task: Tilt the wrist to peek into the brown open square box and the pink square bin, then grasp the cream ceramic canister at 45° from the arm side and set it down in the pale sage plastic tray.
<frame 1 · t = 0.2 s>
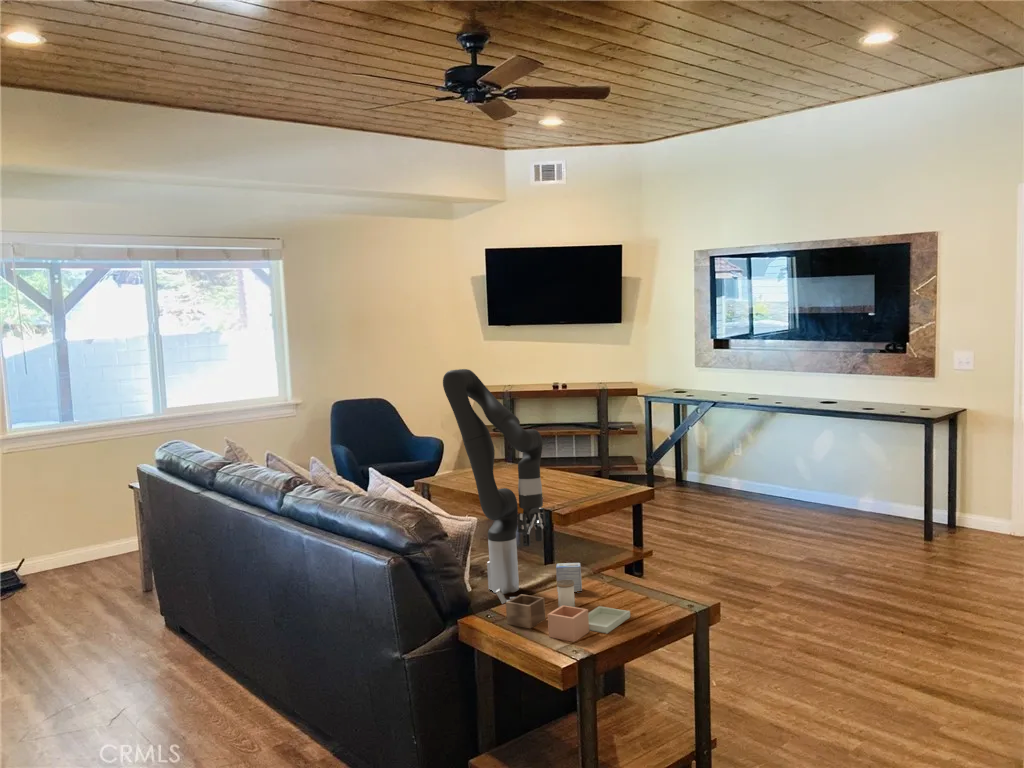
hand: (533, 543, 242), 17 cm above the table, tool pointing down, fingers open, 8 cm apart
brown open square box: (526, 624, 219), on the table
cream canister: (567, 615, 224), on the table
medicine box: (569, 591, 247), on the table
sage tray: (603, 624, 215), on the table
lighter: (509, 615, 228), on the table
pink square bin: (569, 637, 208), on the table
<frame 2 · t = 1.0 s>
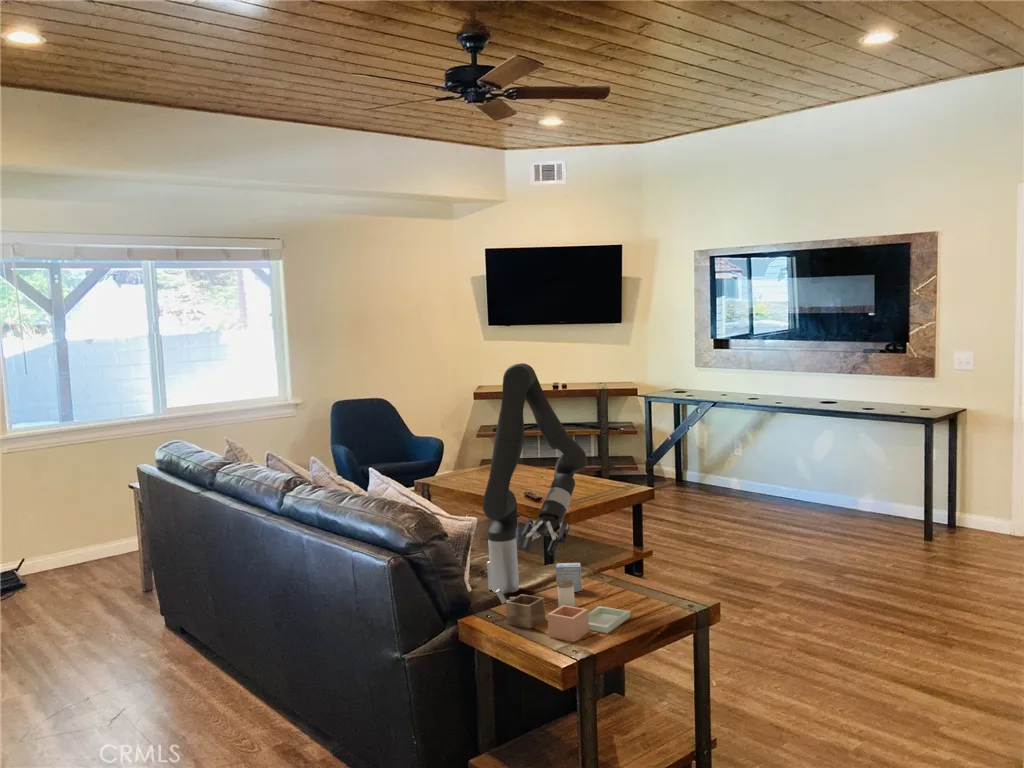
hand: (537, 552, 225), 19 cm above the table, tool tilted 45°, fingers open, 8 cm apart
nothing on the table moved.
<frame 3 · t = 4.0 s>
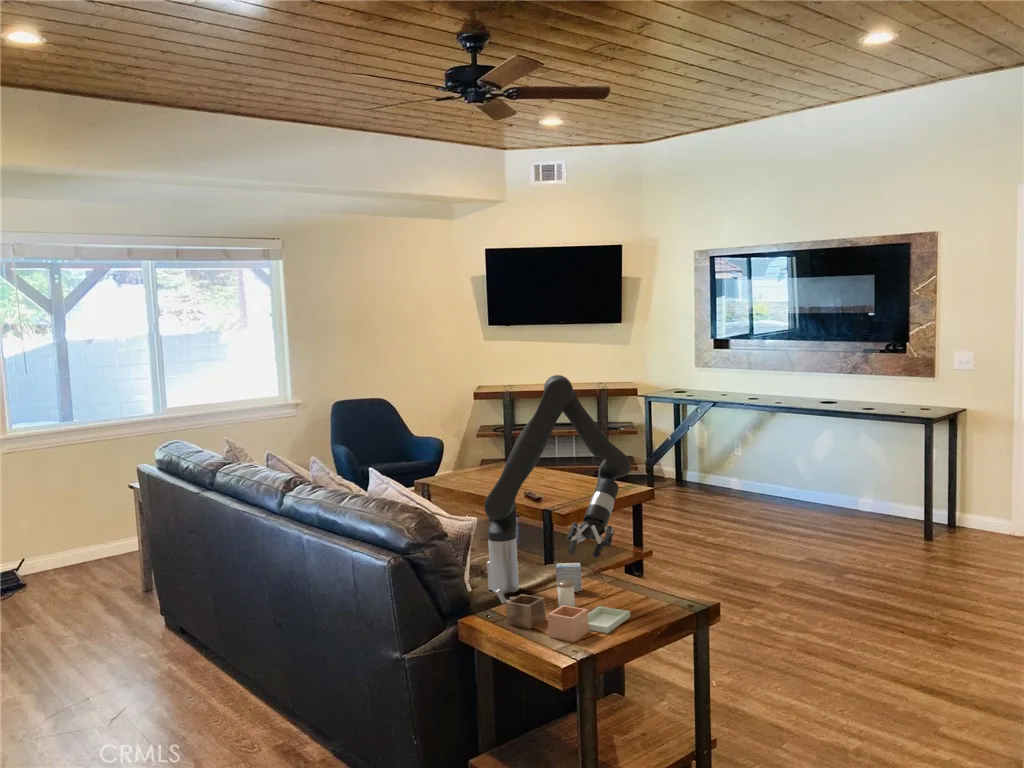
hand: (582, 555, 231), 16 cm above the table, tool tilted 45°, fingers open, 8 cm apart
nothing on the table moved.
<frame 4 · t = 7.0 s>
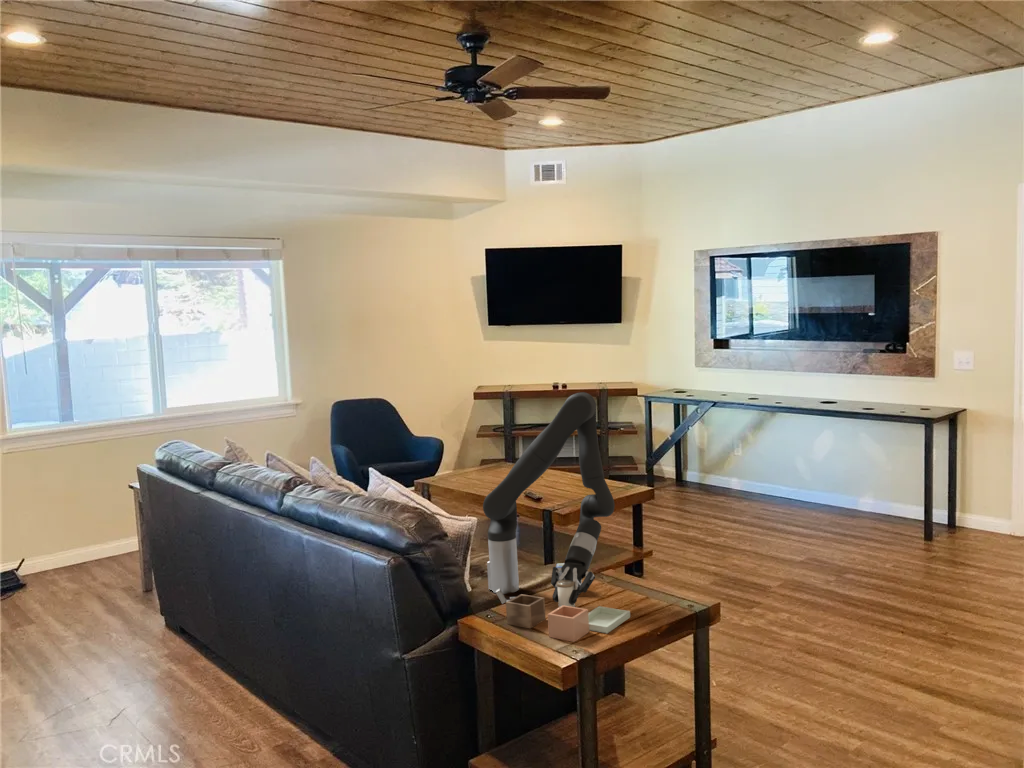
hand: (563, 602, 222), 5 cm above the table, tool tilted 45°, fingers closed on cream canister, 4 cm apart
cream canister: (567, 615, 224), on the table, touching gripper
everything else where it was.
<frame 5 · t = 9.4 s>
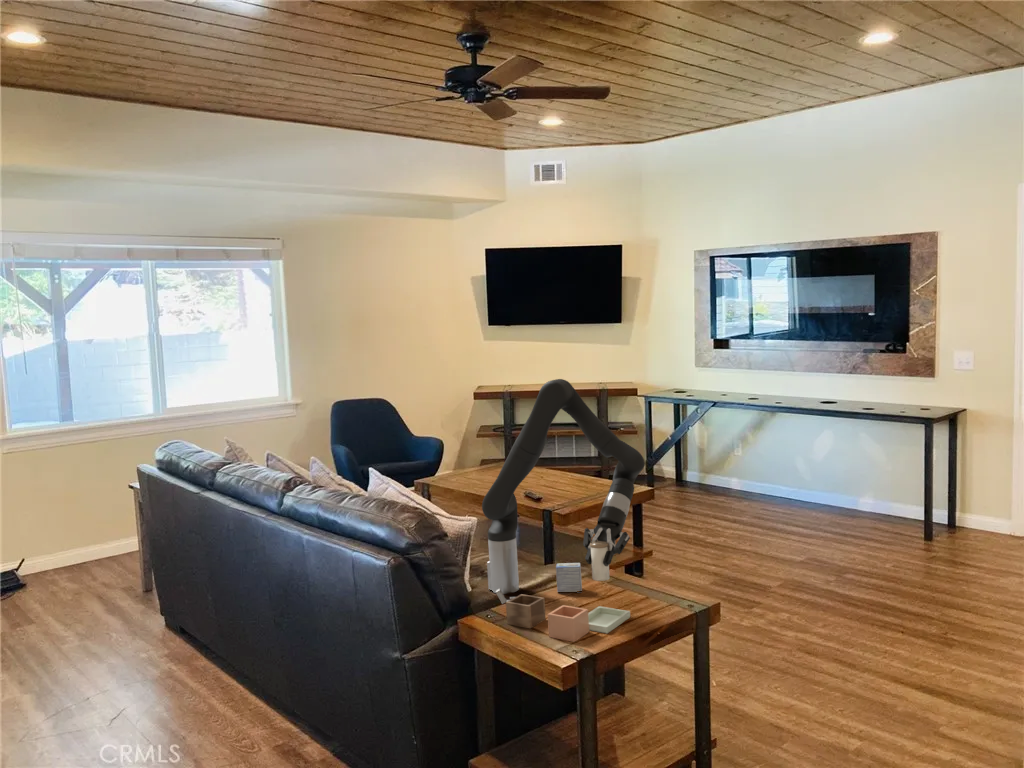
hand: (596, 563, 213), 18 cm above the table, tool tilted 45°, fingers closed on cream canister, 4 cm apart
cream canister: (600, 578, 215), point 13 cm above the table, touching gripper
everything else where it was.
when the fingers open (7 cm above the table, at t = 11.8 s): cream canister drops 1 cm, resting on sage tray.
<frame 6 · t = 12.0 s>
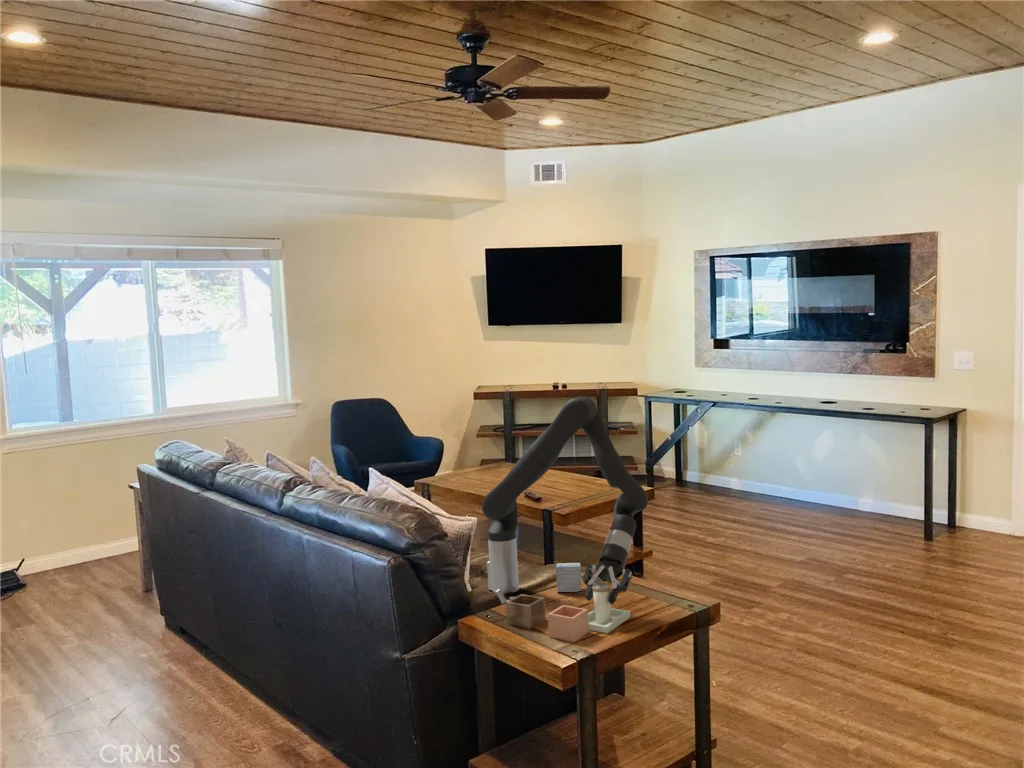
hand: (599, 601, 213), 7 cm above the table, tool tilted 45°, fingers open, 6 cm apart
cream canister: (603, 621, 215), point 1 cm above the table, touching sage tray
everything else where it was.
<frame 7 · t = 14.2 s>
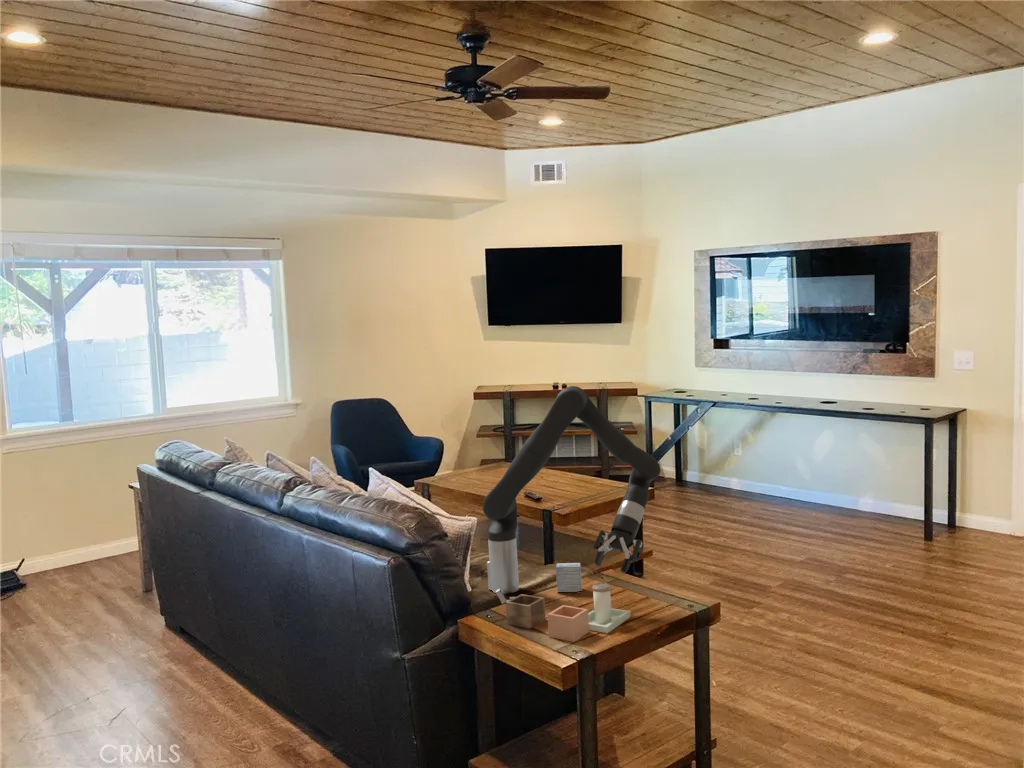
hand: (609, 568, 224), 13 cm above the table, tool tilted 40°, fingers open, 8 cm apart
nothing on the table moved.
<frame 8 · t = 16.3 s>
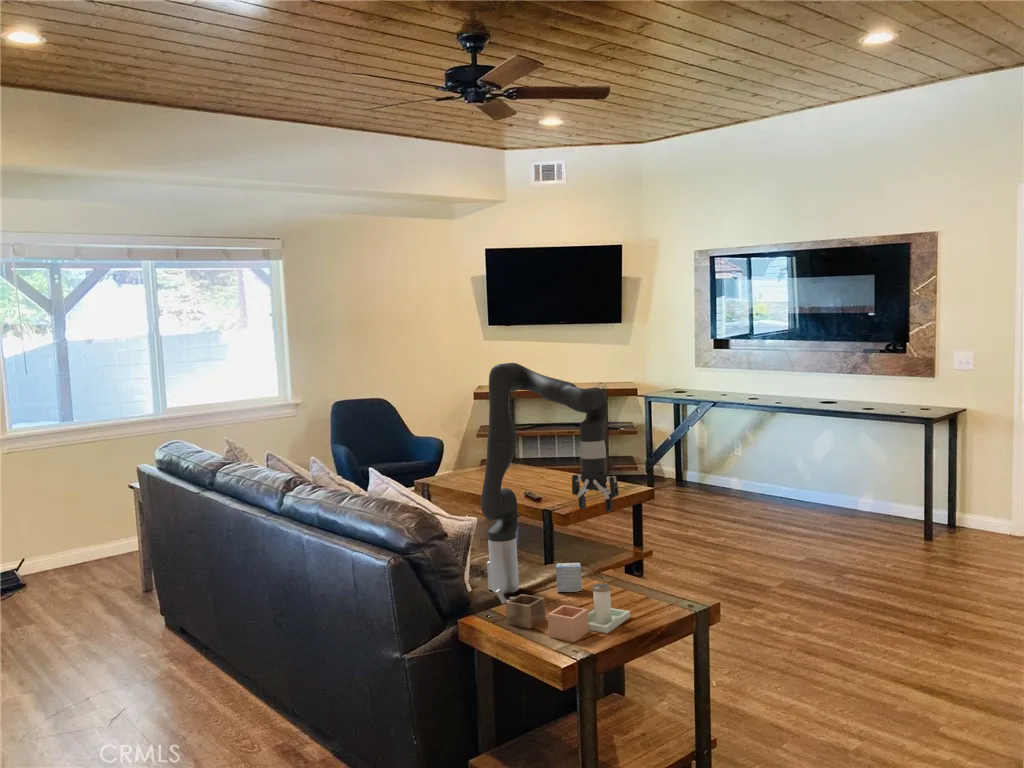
hand: (595, 510, 225), 30 cm above the table, tool pointing down, fingers open, 8 cm apart
nothing on the table moved.
at the end: cream canister inside the target area on the sage tray (0.1 cm from its centre), point 1.0 cm above the sage tray's base; cream canister tilted 0°; the gripper is holding nothing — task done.
